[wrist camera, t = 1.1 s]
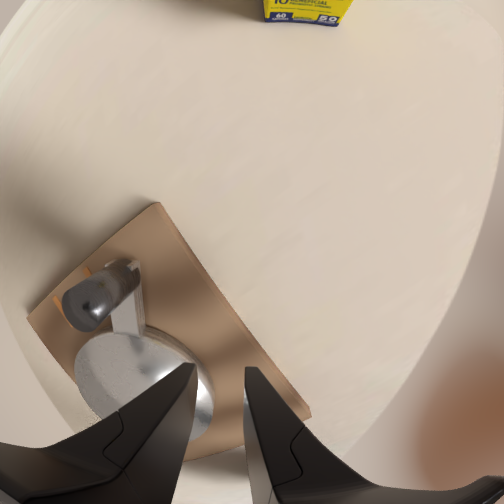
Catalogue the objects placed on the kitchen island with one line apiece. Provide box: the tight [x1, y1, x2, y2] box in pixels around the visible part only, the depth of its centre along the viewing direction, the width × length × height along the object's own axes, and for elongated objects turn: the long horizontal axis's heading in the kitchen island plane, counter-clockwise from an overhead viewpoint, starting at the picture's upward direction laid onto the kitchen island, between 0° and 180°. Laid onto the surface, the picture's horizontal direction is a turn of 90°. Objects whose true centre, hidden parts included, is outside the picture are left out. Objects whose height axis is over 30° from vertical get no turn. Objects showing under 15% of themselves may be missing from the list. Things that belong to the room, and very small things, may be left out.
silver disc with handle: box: [62, 258, 215, 442], centre depth 17 cm, size 17×12×7 cm
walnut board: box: [27, 203, 312, 462], centre depth 21 cm, size 22×18×2 cm
